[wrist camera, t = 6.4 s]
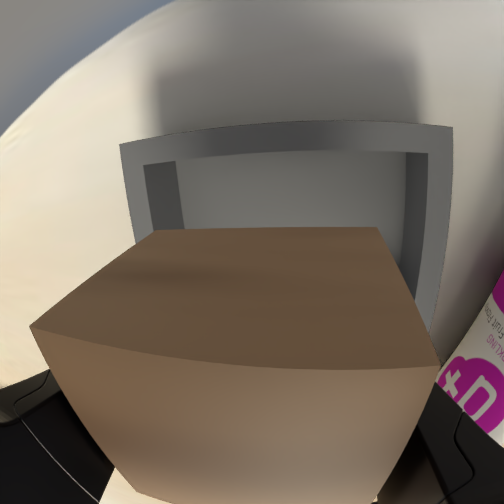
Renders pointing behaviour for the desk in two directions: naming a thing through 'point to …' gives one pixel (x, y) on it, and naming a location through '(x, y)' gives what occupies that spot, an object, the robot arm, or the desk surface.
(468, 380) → the supplement can
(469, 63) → the desk surface
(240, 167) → the tote
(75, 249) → the desk surface
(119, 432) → the walnut block
